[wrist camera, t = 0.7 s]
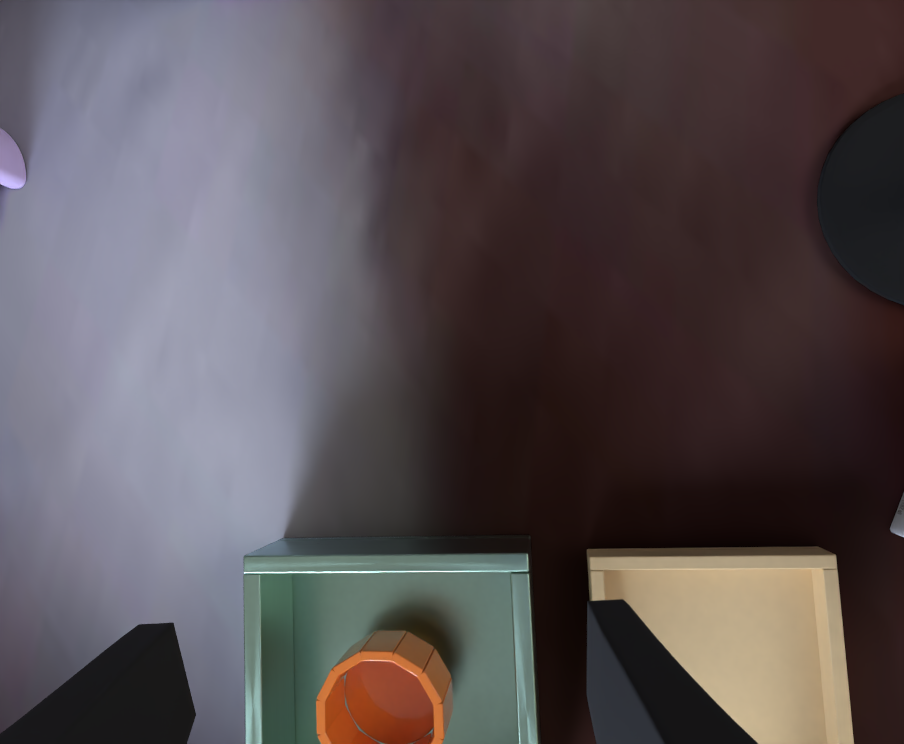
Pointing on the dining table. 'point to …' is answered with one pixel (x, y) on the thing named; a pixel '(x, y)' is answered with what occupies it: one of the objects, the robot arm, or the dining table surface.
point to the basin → (392, 627)
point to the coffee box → (899, 519)
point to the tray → (745, 630)
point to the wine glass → (868, 199)
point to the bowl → (386, 693)
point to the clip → (11, 163)
